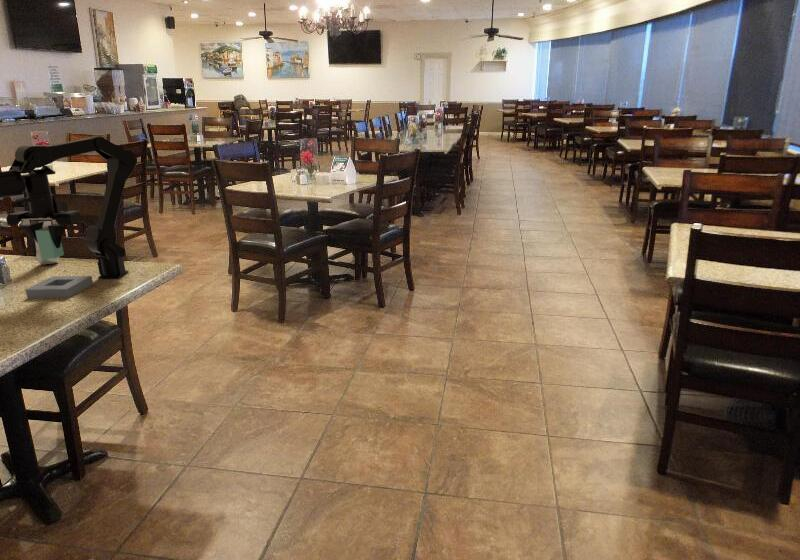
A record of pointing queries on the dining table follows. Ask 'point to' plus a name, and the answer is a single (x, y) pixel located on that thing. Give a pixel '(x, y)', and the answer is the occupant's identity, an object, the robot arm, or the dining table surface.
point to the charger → (47, 244)
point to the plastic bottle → (38, 255)
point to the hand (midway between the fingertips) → (51, 247)
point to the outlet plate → (59, 287)
